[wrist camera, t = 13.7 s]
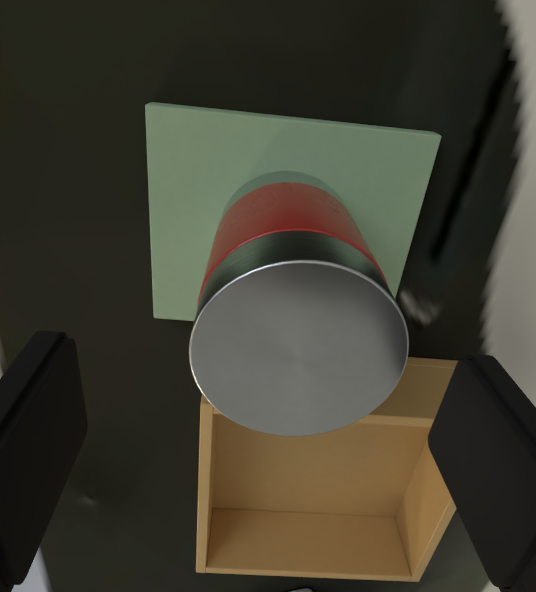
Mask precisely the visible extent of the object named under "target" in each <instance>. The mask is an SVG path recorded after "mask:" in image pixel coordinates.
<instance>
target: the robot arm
mask: <svg viewBox="0 0 536 592" xmlns="http://www.w3.org/2000/svg"><path fill="white" fill-rule="evenodd" d="M87 424H88V423H87V415H86V409H85V402H84V396H83V389H82V383H81V376H80V370H79V363H78V357H77V350H76V344H75V341H74V339H68V337H67V335H66V333H64V332H52V331H37V332H36V333H35V334H34V335H33V337H32V338H31V339H30V340H29V342H28V343H27V344H26V346H25V347H24V348H23V350H22V351H21V352H20V354H19V355H18V356H17V358H16V359H15V360H14V362H13V363H12V364H11V366H10V367H9V368H8V369H7V371H6V372H5V373H4V375H3V376H2V377H1V379H0V592H11V591H12V589H13V586H14V585H20V584H21V583H23V581H24V580H25V578H26V576H27V574H28V571H29V569H30V567H31V564H32V562H33V560H34V557H35V555H36V553H37V550H38V548H39V545H40V543H41V541H42V538H43V536H44V534H45V531H46V529H47V526H48V524H49V522H50V519H51V517H52V515H53V512H54V510H55V507H56V505H57V503H58V500H59V498H60V496H61V493H62V491H63V489H64V486H65V484H66V481H67V479H68V477H69V474H70V472H71V470H72V467H73V465H74V462H75V460H76V458H77V455H78V453H79V451H80V448H81V446H82V443H83V441H84V439H85V436H86V432H87ZM428 447H429V450H430V452H431V454H432V456H433V458H434V461H435V463H436V465H437V467H438V469H439V471H440V474H441V476H442V478H443V480H444V482H445V484H446V487H447V489H448V491H449V493H450V495H451V497H452V500H453V502H454V504H455V506H456V508H457V510H458V513H459V515H460V517H461V519H462V521H463V523H464V526H465V528H466V530H467V532H468V534H469V536H470V539H471V541H472V543H473V545H474V547H475V549H476V552H477V554H478V556H479V558H480V560H481V562H482V565H483V567H484V569H485V571H486V573H487V575H488V578H489V579H490V581H491V582H492V584H493V585H494V586H496V587H499V589H500V591H501V592H536V407H535V406H534V405H533V404H532V403H531V401H530V400H529V399H528V398H527V397H526V395H525V394H524V393H523V392H522V390H521V389H520V388H519V387H518V385H517V384H516V383H515V382H514V381H513V379H512V378H511V377H510V376H509V375H508V373H507V372H506V371H505V369H504V368H503V367H502V366H501V365H500V363H499V362H498V361H497V360H496V359H495V358H494V357H493V356H490V355H472V354H469V355H466V356H465V357H464V359H463V360H459V361H458V362H457V364H456V367H455V369H454V372H453V374H452V377H451V379H450V382H449V384H448V386H447V389H446V391H445V394H444V396H443V399H442V401H441V404H440V406H439V409H438V411H437V414H436V416H435V419H434V421H433V424H432V426H431V429H430V431H429V434H428Z"/></svg>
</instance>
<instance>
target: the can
mask: <svg viewBox="0 0 536 592" xmlns="http://www.w3.org/2000/svg"><path fill="white" fill-rule="evenodd" d="M408 349H409V338H408V330H407V326H406V322H405V319H404V317H403V315H402V312H401V310H400V308H399V306H398V304H397V302H396V301H395V299H394V297H393V295H392V293H391V291H390V289H389V287H388V284H387V282H386V279H385V277H384V275H383V273H382V271H381V269H380V267H379V265H378V263H377V262H376V260H375V258H374V256H373V254H372V253H371V251H370V249H369V247H368V245H367V243H366V242H365V240H364V238H363V236H362V234H361V232H360V231H359V229H358V227H357V225H356V223H355V221H354V220H353V218H352V216H351V215H350V213H349V212H348V210H347V209H346V207H345V206H344V204H343V202H342V201H341V199H340V197H339V196H338V195H337V194H336V193H335V191H334V190H333V189H332V188H330V187H329V186H328V185H327V184H326V183H324V182H322V181H321V180H319V179H317V178H315V177H313V176H311V175H308V174H305V173H301V172H295V171H278V172H271V173H267V174H264V175H261V176H259V177H256V178H254V179H253V180H251V181H249V182H247V183H246V184H245V185H243V186H242V187H241V188H240V189H239V190H238V191H237V192H235V194H234V195H233V196H232V197H231V199H230V200H229V201H228V203H227V205H226V207H225V208H224V211H223V213H222V216H221V220H220V223H219V226H218V228H217V231H216V234H215V238H214V241H213V245H212V249H211V253H210V256H209V260H208V264H207V268H206V271H205V275H204V279H203V283H202V286H201V290H200V294H199V298H198V304H197V312H196V316H195V320H194V324H193V328H192V332H191V335H190V340H189V362H190V367H191V371H192V374H193V377H194V379H195V381H196V384H197V386H198V387H199V389H200V391H201V392H202V394H203V395H204V397H205V398H206V399H207V400H208V401H209V403H210V404H211V405H212V406H213V407H214V408H216V409H217V410H218V411H219V412H220V413H222V414H223V415H224V416H226V417H227V418H228V419H230V420H232V421H234V422H236V423H237V424H239V425H242V426H244V427H246V428H249V429H252V430H255V431H258V432H261V433H266V434H271V435H278V436H295V437H299V436H311V435H317V434H323V433H327V432H331V431H335V430H338V429H340V428H343V427H346V426H348V425H350V424H352V423H354V422H356V421H358V420H360V419H362V418H363V417H365V416H366V415H368V414H370V413H371V412H372V411H373V410H375V409H376V408H377V407H378V406H379V405H381V404H382V403H383V402H384V401H385V400H386V399H387V397H388V396H389V395H390V394H391V392H392V391H393V390H394V389H395V387H396V385H397V384H398V382H399V380H400V379H401V376H402V374H403V371H404V369H405V366H406V362H407V357H408Z"/></svg>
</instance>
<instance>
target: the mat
mask: <svg viewBox="0 0 536 592" xmlns="http://www.w3.org/2000/svg"><path fill="white" fill-rule="evenodd" d="M145 115H146V139H147V164H148V188H149V212H150V237H151V261H152V285H153V310H154V318H162V319H175V320H188V321H194V320H195V316H196V312H197V304H198V298H199V294H200V290H201V286H202V283H203V279H204V275H205V271H206V268H207V264H208V260H209V256H210V253H211V249H212V245H213V241H214V238H215V234H216V231H217V228H218V226H219V223H220V220H221V216H222V213H223V211H224V208H225V207H226V205H227V203H228V201H229V200H230V199H231V197H232V196H233V195H234V194H235V192H237V191H238V190H239V189H240V188H241V187H242V186H243V185H245V184H246V183H247V182H249V181H251V180H253V179H254V178H256V177H259V176H261V175H264V174H267V173H271V172H278V171H295V172H301V173H305V174H308V175H311V176H313V177H315V178H317V179H319V180H321V181H322V182H324V183H326V184H327V185H328V186H329V187H330V188H332V189H333V190H334V191H335V193H336V194H337V195H338V196H339V197H340V199H341V201H342V202H343V204H344V206H345V207H346V209H347V210H348V212H349V213H350V215H351V216H352V218H353V220H354V221H355V223H356V225H357V227H358V229H359V231H360V232H361V234H362V236H363V238H364V240H365V242H366V243H367V245H368V247H369V249H370V251H371V253H372V254H373V256H374V258H375V260H376V262H377V263H378V265H379V267H380V269H381V271H382V273H383V275H384V277H385V279H386V282H387V284H388V287H389V289H390V291H391V293H392V295H393V297H394V299H395V297H396V294H397V290H398V287H399V283H400V280H401V276H402V273H403V269H404V266H405V262H406V259H407V255H408V252H409V248H410V245H411V241H412V238H413V234H414V231H415V227H416V224H417V221H418V217H419V214H420V210H421V207H422V203H423V200H424V196H425V193H426V189H427V186H428V182H429V179H430V175H431V172H432V168H433V165H434V161H435V158H436V154H437V151H438V147H439V144H440V140H441V135H439V134H437V133H434V132H430V131H421V130H411V129H402V128H392V127H383V126H374V125H364V124H355V123H345V122H336V121H326V120H317V119H307V118H298V117H288V116H279V115H270V114H260V113H251V112H241V111H232V110H222V109H213V108H203V107H194V106H184V105H175V104H166V103H156V102H151V103H148V104H146V105H145Z"/></svg>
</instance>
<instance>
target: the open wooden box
mask: <svg viewBox="0 0 536 592" xmlns="http://www.w3.org/2000/svg"><path fill="white" fill-rule="evenodd" d="M457 362H458V361H457V360H443V359H430V358H416V357H407V362H406V366H405V369H404V371H403V374H402V376H401V379H400V380H399V382H398V384H397V385H396V387H395V389H394V390H393V391H392V392H391V394H390V395H389V396H388V397H387V399H386V400H385V401H384V402H383V403H382V404H381V405H379V406H378V407H377V408H376V409H375V410H373V411H372V412H371V413H370V414H368V415H366V416H365V417H363V418H362V419H360V420H358V421H356V422H354V423H352V424H350V425H348V426H346V427H343V428H340V429H338V430H335V431H331V432H327V433H323V434H317V435H311V436H299V437H295V436H278V435H271V434H266V433H261V432H258V431H255V430H252V429H249V428H246V427H244V426H242V425H239V424H237V423H236V422H234V421H232V420H230V419H228V418H227V417H226V416H224V415H223V414H222V413H220V412H219V411H218V410H217V409H216V408H214V407H213V406H212V405H211V404H210V403H209V401H208V400H207V399H206V398H205V397H204V395H203V394H202V399H201V406H200V444H199V481H198V518H197V555H196V572H199V573H205V572H206V573H225V574H249V575H272V576H295V577H318V578H341V579H364V580H387V581H410V582H419V580H420V578H421V576H422V574H423V573H424V571H425V569H426V567H427V565H428V563H429V561H430V559H431V557H432V555H433V553H434V551H435V549H436V547H437V545H438V543H439V541H440V540H441V538H442V536H443V534H444V532H445V530H446V528H447V526H448V524H449V522H450V520H451V518H452V516H453V514H454V512H455V510H456V506H455V504H454V502H453V500H452V497H451V495H450V493H449V491H448V489H447V487H446V484H445V482H444V480H443V478H442V476H441V474H440V471H439V469H438V467H437V465H436V463H435V461H434V458H433V456H432V454H431V452H430V450H429V447H428V434H429V431H430V429H431V426H432V424H433V421H434V419H435V416H436V414H437V411H438V409H439V406H440V404H441V401H442V399H443V396H444V394H445V391H446V389H447V386H448V384H449V382H450V379H451V377H452V374H453V372H454V369H455V367H456V364H457Z"/></svg>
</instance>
